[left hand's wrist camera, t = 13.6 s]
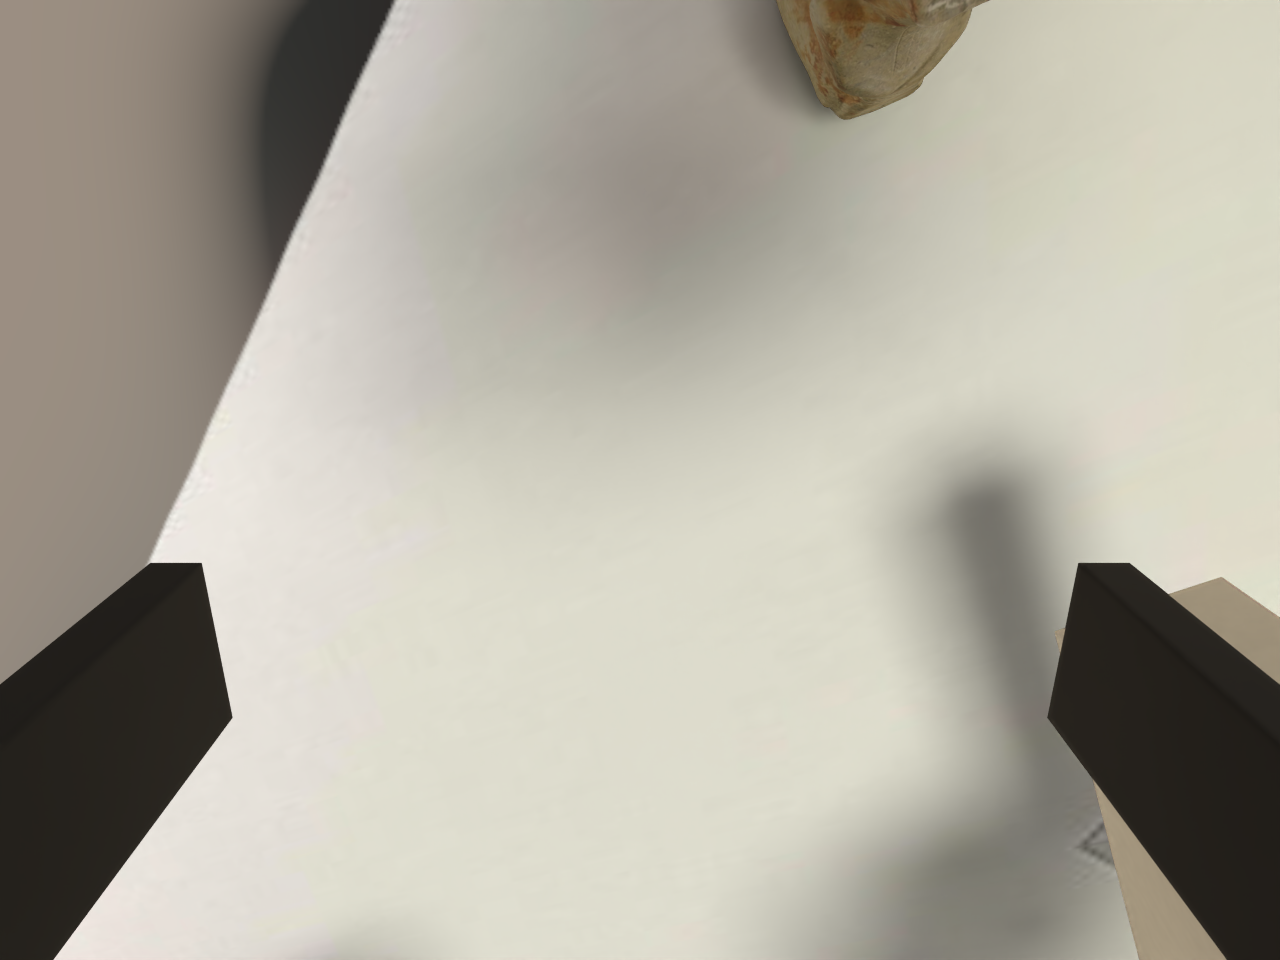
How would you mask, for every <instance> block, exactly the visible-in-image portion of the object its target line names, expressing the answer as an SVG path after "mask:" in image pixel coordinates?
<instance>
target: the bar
mask: <svg viewBox="0 0 1280 960" xmlns="http://www.w3.org/2000/svg"><path fill="white" fill-rule="evenodd" d="M1168 595H1170V596H1171V597H1172V598H1173V599H1175V600H1176V601H1177V602H1178V603H1180V604H1181V605H1182V606H1183V607H1185V608H1186V609H1187V610H1188V611H1190V612H1191V613H1192V614H1193V615H1194V616H1196V617H1197V618H1198V619H1199V620H1201V621H1202V622H1203V623H1204V624H1206V625H1207V626H1208V627H1209V628H1211V629H1212V630H1213V631H1214V632H1216V633H1217V634H1218V635H1219V636H1220V637H1222V638H1223V639H1224V640H1225V641H1227V642H1228V643H1229V644H1230V645H1232V646H1233V647H1234V648H1235V649H1237V650H1238V651H1239V652H1240V653H1241V654H1243V655H1244V656H1245V657H1246V658H1248V659H1249V660H1250V661H1251V662H1253V663H1254V664H1255V665H1256V666H1258V667H1259V668H1260V669H1261V670H1263V671H1264V672H1265V673H1266V674H1267V675H1269V676H1270V677H1271V678H1272V679H1274V680H1275V681H1276V682H1277V683H1279V684H1280V617H1278V616H1277V615H1275V614H1274V613H1273V612H1271V611H1270V610H1268V609H1267V608H1265V607H1264V606H1263V605H1261V604H1260V603H1258V602H1257V601H1255V600H1254V599H1253V598H1251V597H1250V596H1248V595H1247V594H1245V593H1244V592H1242V591H1241V590H1240V589H1238V588H1237V587H1235V586H1234V585H1232V584H1231V583H1230V582H1228V581H1227V580H1225V579H1224V578H1222V577H1220V578H1217V579H1214V580H1211V581H1208V582H1205V583H1201V584H1198V585H1195V586H1192V587H1189V588H1186V589H1183V590H1180V591H1177V592H1174V593H1171V594H1168ZM1064 632H1065V628H1063V629H1060V630H1057V631H1055V636H1056V640H1057V643H1058V647H1059V651H1060V652H1061V647H1062V642H1063V637H1064ZM1092 779H1093V778H1092ZM1093 783H1094V786H1095V790H1096V794H1097V798H1098V802H1099V806H1100V810H1101V813H1102V817H1103V821H1104V825H1105V829H1106V833H1107V837H1108V840H1109V844H1110V848H1111V852H1112V856H1113V860H1114V864H1115V868H1116V871H1117V875H1118V879H1119V883H1120V887H1121V891H1122V895H1123V898H1124V902H1125V906H1126V910H1127V914H1128V918H1129V922H1130V925H1131V929H1132V933H1133V937H1134V941H1135V945H1136V949H1137V952H1138V956H1139V960H1226V958H1225V957H1224V955H1223V954H1222V953H1221V951H1220V950H1219V949H1218V947H1217V946H1216V945H1215V943H1214V942H1213V941H1212V939H1211V938H1210V937H1209V935H1208V934H1207V932H1206V931H1205V930H1204V928H1203V927H1202V926H1201V924H1200V923H1199V922H1198V920H1197V919H1196V918H1195V916H1194V915H1193V914H1192V912H1191V911H1190V910H1189V908H1188V907H1187V905H1186V904H1185V903H1184V901H1183V900H1182V899H1181V897H1180V896H1179V895H1178V893H1177V892H1176V891H1175V889H1174V888H1173V887H1172V885H1171V884H1170V883H1169V881H1168V880H1167V878H1166V877H1165V876H1164V874H1163V873H1162V872H1161V870H1160V869H1159V868H1158V866H1157V865H1156V864H1155V862H1154V861H1153V860H1152V858H1151V857H1150V855H1149V854H1148V853H1147V851H1146V850H1145V849H1144V847H1143V846H1142V845H1141V843H1140V842H1139V841H1138V839H1137V838H1136V837H1135V835H1134V834H1133V833H1132V831H1131V830H1130V828H1129V827H1128V826H1127V824H1126V823H1125V822H1124V820H1123V819H1122V818H1121V816H1120V815H1119V814H1118V812H1117V811H1116V810H1115V808H1114V807H1113V806H1112V804H1111V803H1110V801H1109V800H1108V799H1107V797H1106V796H1105V795H1104V793H1103V792H1102V791H1101V789H1100V788H1099V787H1098V785H1097V784H1096V783H1095V781H1094V780H1093Z"/></svg>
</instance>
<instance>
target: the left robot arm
mask: <svg viewBox="0 0 1280 960" xmlns="http://www.w3.org/2000/svg"><path fill="white" fill-rule="evenodd" d="M232 718H233V717H232V712H231V707H230V702H229V697H228V692H227V687H226V682H225V677H224V672H223V667H222V662H221V657H220V652H219V647H218V642H217V637H216V632H215V627H214V622H213V617H212V612H211V607H210V602H209V597H208V592H207V587H206V582H205V577H204V572H203V567H202V563H150V564H149V565H147V566H146V567H145V568H144V569H142V570H141V571H140V572H139V573H138V574H136V575H135V576H134V577H133V578H131V579H130V580H129V581H128V582H126V583H125V584H124V585H123V586H121V587H120V588H119V589H118V590H117V591H115V592H114V593H113V594H112V595H110V596H109V597H108V598H107V599H105V600H104V601H103V602H102V603H100V604H99V605H98V606H97V607H95V608H94V609H93V610H92V611H91V612H89V613H88V614H87V615H86V616H84V617H83V618H82V619H81V620H79V621H78V622H77V623H76V624H74V625H73V626H72V627H71V628H69V629H68V630H67V631H66V632H65V633H63V634H62V635H61V636H60V637H58V638H57V639H56V640H55V641H53V642H52V643H51V644H50V645H48V646H47V647H46V648H45V649H43V650H42V651H41V652H40V653H39V654H37V655H36V656H35V657H34V658H32V659H31V660H30V661H29V662H27V663H26V664H25V665H24V666H22V667H21V668H20V669H19V670H18V671H16V672H15V673H14V674H13V675H11V676H10V677H9V678H8V679H6V680H5V681H4V682H3V683H1V684H0V960H53V959H54V958H55V957H56V955H57V954H58V953H59V951H60V950H61V949H62V947H63V946H64V945H65V943H66V942H67V941H68V939H69V938H70V937H71V935H72V934H73V932H74V931H75V930H76V928H77V927H78V926H79V924H80V923H81V922H82V920H83V919H84V918H85V916H86V915H87V914H88V912H89V911H90V910H91V908H92V907H93V905H94V904H95V903H96V901H97V900H98V899H99V897H100V896H101V895H102V893H103V892H104V891H105V889H106V888H107V887H108V885H109V884H110V883H111V881H112V880H113V878H114V877H115V876H116V874H117V873H118V872H119V870H120V869H121V868H122V866H123V865H124V864H125V862H126V861H127V860H128V858H129V857H130V855H131V854H132V853H133V851H134V850H135V849H136V847H137V846H138V845H139V843H140V842H141V841H142V839H143V838H144V837H145V835H146V834H147V833H148V831H149V830H150V828H151V827H152V826H153V824H154V823H155V822H156V820H157V819H158V818H159V816H160V815H161V814H162V812H163V811H164V810H165V808H166V807H167V806H168V804H169V803H170V801H171V800H172V799H173V797H174V796H175V795H176V793H177V792H178V791H179V789H180V788H181V787H182V785H183V784H184V783H185V781H186V780H187V778H188V777H189V776H190V774H191V773H192V772H193V770H194V769H195V768H196V766H197V765H198V764H199V762H200V761H201V760H202V758H203V757H204V756H205V754H206V753H207V751H208V750H209V749H210V747H211V746H212V745H213V743H214V742H215V741H216V739H217V738H218V737H219V735H220V734H221V733H222V731H223V730H224V729H225V727H226V726H227V724H228V723H229V722H230V720H231V719H232ZM1047 718H1048V719H1049V720H1050V722H1051V723H1052V724H1053V726H1054V727H1055V729H1056V730H1057V731H1058V733H1059V734H1060V735H1061V737H1062V738H1063V739H1064V741H1065V742H1066V743H1067V745H1068V746H1069V747H1070V749H1071V750H1072V751H1073V753H1074V754H1075V756H1076V757H1077V758H1078V760H1079V761H1080V762H1081V764H1082V765H1083V766H1084V768H1085V769H1086V770H1087V772H1088V773H1089V774H1090V776H1091V777H1092V778H1093V780H1094V781H1095V783H1096V784H1097V785H1098V787H1099V788H1100V789H1101V791H1102V792H1103V793H1104V795H1105V796H1106V797H1107V799H1108V800H1109V801H1110V803H1111V804H1112V806H1113V807H1114V808H1115V810H1116V811H1117V812H1118V814H1119V815H1120V816H1121V818H1122V819H1123V820H1124V822H1125V823H1126V824H1127V826H1128V827H1129V828H1130V830H1131V831H1132V833H1133V834H1134V835H1135V837H1136V838H1137V839H1138V841H1139V842H1140V843H1141V845H1142V846H1143V847H1144V849H1145V850H1146V851H1147V853H1148V854H1149V855H1150V857H1151V858H1152V860H1153V861H1154V862H1155V864H1156V865H1157V866H1158V868H1159V869H1160V870H1161V872H1162V873H1163V874H1164V876H1165V877H1166V878H1167V880H1168V881H1169V883H1170V884H1171V885H1172V887H1173V888H1174V889H1175V891H1176V892H1177V893H1178V895H1179V896H1180V897H1181V899H1182V900H1183V901H1184V903H1185V904H1186V905H1187V907H1188V908H1189V910H1190V911H1191V912H1192V914H1193V915H1194V916H1195V918H1196V919H1197V920H1198V922H1199V923H1200V924H1201V926H1202V927H1203V928H1204V930H1205V931H1206V932H1207V934H1208V935H1209V937H1210V938H1211V939H1212V941H1213V942H1214V943H1215V945H1216V946H1217V947H1218V949H1219V950H1220V951H1221V953H1222V954H1223V955H1224V957H1225V958H1226V960H1280V684H1279V683H1277V682H1276V681H1275V680H1274V679H1272V678H1271V677H1270V676H1269V675H1267V674H1266V673H1265V672H1264V671H1263V670H1261V669H1260V668H1259V667H1258V666H1256V665H1255V664H1254V663H1253V662H1251V661H1250V660H1249V659H1248V658H1246V657H1245V656H1244V655H1243V654H1241V653H1240V652H1239V651H1238V650H1237V649H1235V648H1234V647H1233V646H1232V645H1230V644H1229V643H1228V642H1227V641H1225V640H1224V639H1223V638H1222V637H1220V636H1219V635H1218V634H1217V633H1216V632H1214V631H1213V630H1212V629H1211V628H1209V627H1208V626H1207V625H1206V624H1204V623H1203V622H1202V621H1201V620H1199V619H1198V618H1197V617H1196V616H1194V615H1193V614H1192V613H1191V612H1190V611H1188V610H1187V609H1186V608H1185V607H1183V606H1182V605H1181V604H1180V603H1178V602H1177V601H1176V600H1175V599H1173V598H1172V597H1171V596H1170V595H1168V594H1167V593H1166V592H1165V591H1164V590H1162V589H1161V588H1160V587H1159V586H1157V585H1156V584H1155V583H1154V582H1152V581H1151V580H1150V579H1149V578H1147V577H1146V576H1145V575H1144V574H1143V573H1141V572H1140V571H1139V570H1138V569H1136V568H1135V567H1134V566H1133V565H1131V564H1130V563H1078V567H1077V572H1076V577H1075V582H1074V587H1073V592H1072V597H1071V602H1070V607H1069V612H1068V617H1067V622H1066V627H1065V632H1064V637H1063V642H1062V647H1061V652H1060V657H1059V662H1058V667H1057V672H1056V677H1055V682H1054V687H1053V692H1052V697H1051V702H1050V707H1049V712H1048V717H1047Z"/></svg>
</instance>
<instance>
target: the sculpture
mask: <svg viewBox="0 0 1280 960" xmlns="http://www.w3.org/2000/svg"><path fill="white" fill-rule="evenodd" d="M776 1H777V4H778V8H779V11H780V14H781V17H782V19H783V22H784V24H785V27H786V29H787V31H788V33H789V36H790V38H791V40H792V43H793V45H794V47H795V49H796V51H797V53H798V55H799V56H800V58H801V60H802V62H803V64H804V66H805V68H806V70H807V72H808V74H809V77H810V79H811V82H812V84H813V87H814V89H815V92H816V95H817V97H818V99H819V100H820V102H821V103H822V105H823V106H824V107H830V108H831V109H832V110H833V112H834V113H835V114H836V115H837V116H838V117H839V118H841V119H844V120H845V119H852V118H855V117H858V116H861V115H864V114H867V113H870V112H873V111H875V110H878V109H880V108H882V107H885V106H887V105H889V104H891V103H894V102H896V101H898V100H900V99H903V98H905V97H907V96H909V95H910V94H912V93H913V92H914V91H915V90H917V89H918V88H919V87H920V86H921V84H922V82H923V79H924V77H925V76H926V75H927V74H928V73H929V72H930V71H931V70H932V69H933V68H934V67H935V66H936V65H937V64H938V63H939V62H940V60H941V59H942V58H943V57H944V56H945V54H946V53H947V52H948V51H949V50H950V48H951V47H952V46H953V45H954V43H955V42H956V41H957V40H958V39H959V37H960V36H961V34H962V33H963V31H964V30H965V28H966V26H967V24H968V21H969V18H970V15H971V11H972V8H973V7H975V6H978V5H980V4H982V3H984V2H987V1H989V0H776Z"/></svg>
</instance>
